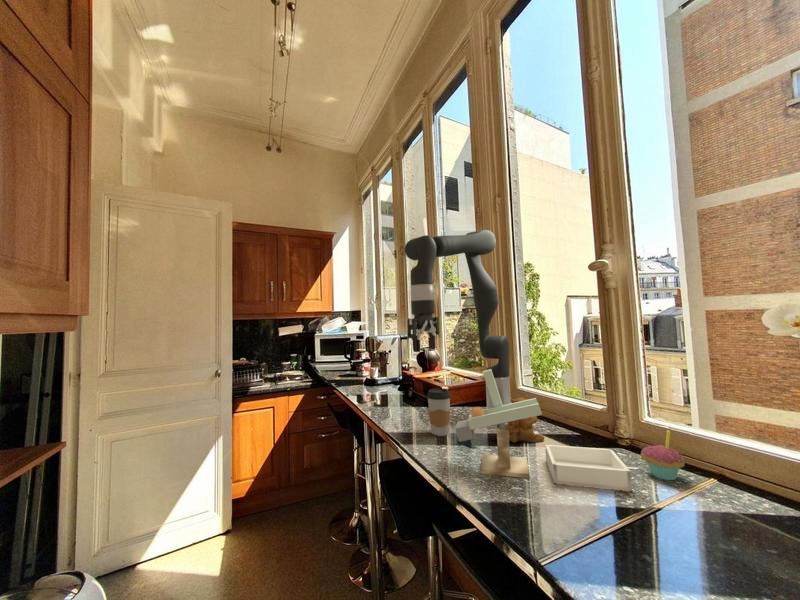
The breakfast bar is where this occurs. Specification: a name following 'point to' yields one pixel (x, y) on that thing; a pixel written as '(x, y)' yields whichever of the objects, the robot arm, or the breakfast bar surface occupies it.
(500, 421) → the tilting chute
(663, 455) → the cupcake
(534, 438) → the stuffed squirrel
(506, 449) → the fulcrum stand
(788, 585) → the breakfast bar surface
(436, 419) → the coffee cup
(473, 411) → the ball
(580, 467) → the tub
